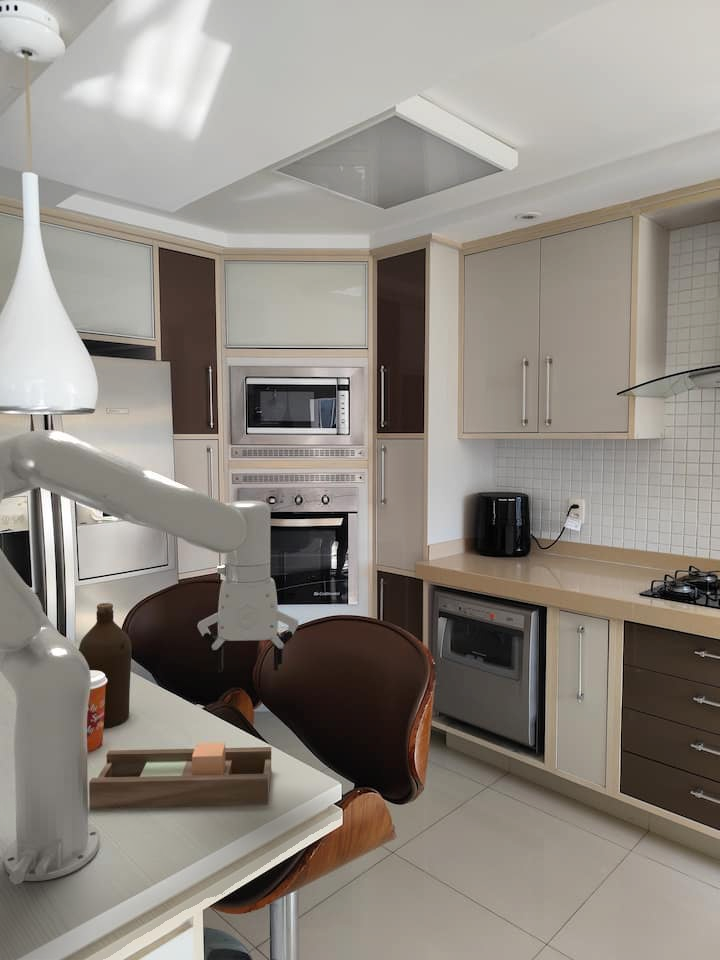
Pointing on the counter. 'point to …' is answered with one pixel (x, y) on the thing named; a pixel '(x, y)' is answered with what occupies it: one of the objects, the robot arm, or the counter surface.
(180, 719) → the counter surface
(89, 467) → the robot arm
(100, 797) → the box
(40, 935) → the counter surface
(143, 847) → the counter surface
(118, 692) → the olive oil
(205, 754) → the block
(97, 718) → the paper cup
